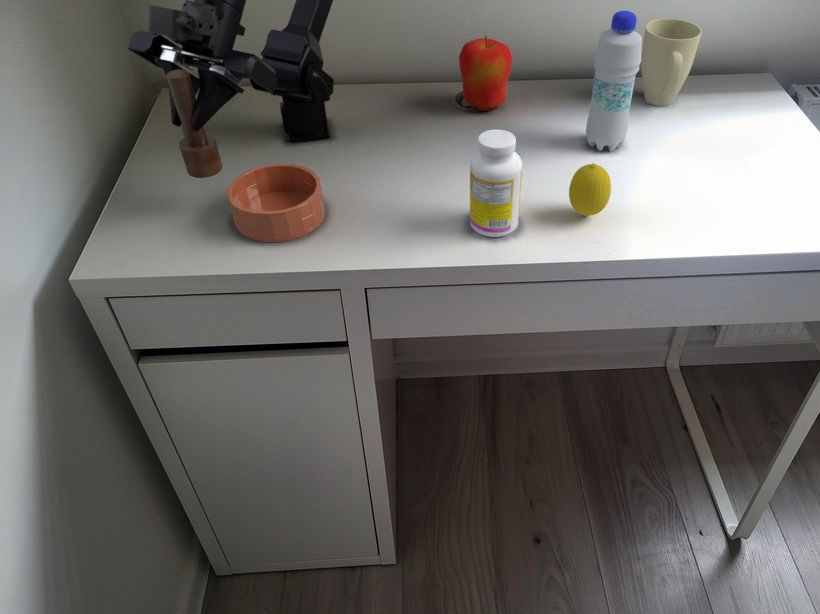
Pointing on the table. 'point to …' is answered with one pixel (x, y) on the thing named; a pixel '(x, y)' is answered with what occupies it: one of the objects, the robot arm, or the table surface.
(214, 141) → the pestle
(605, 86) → the bottle
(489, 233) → the supplement bottle
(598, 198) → the lemon
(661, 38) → the mug
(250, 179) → the bowl
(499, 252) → the table surface
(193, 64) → the robot arm
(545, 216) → the table surface
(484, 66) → the apple
